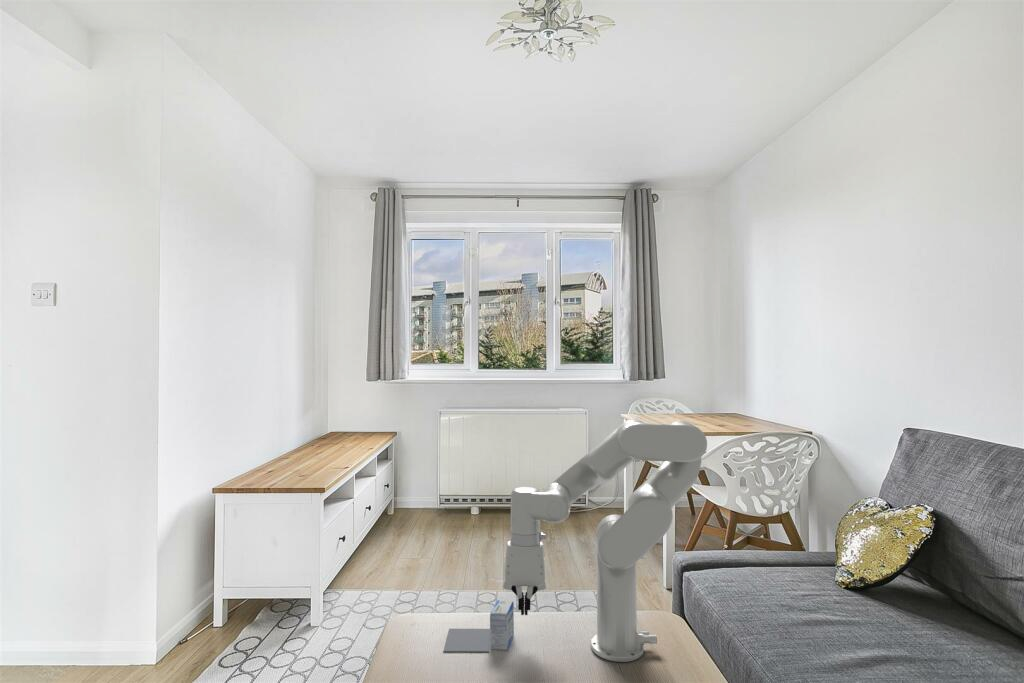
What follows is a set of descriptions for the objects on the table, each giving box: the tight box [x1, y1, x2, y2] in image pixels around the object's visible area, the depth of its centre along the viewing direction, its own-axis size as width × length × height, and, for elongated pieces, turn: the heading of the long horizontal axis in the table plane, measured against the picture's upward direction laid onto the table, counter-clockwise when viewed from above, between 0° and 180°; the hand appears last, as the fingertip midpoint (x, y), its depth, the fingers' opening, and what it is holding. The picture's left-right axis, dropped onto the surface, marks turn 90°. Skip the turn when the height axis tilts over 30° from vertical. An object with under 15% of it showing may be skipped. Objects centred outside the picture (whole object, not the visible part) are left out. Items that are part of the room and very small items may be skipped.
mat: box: [442, 628, 491, 653], centre depth 133 cm, size 11×11×1 cm
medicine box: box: [489, 599, 515, 651], centre depth 133 cm, size 8×4×9 cm, turn 168°
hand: (524, 612), depth 133 cm, fingers closed
